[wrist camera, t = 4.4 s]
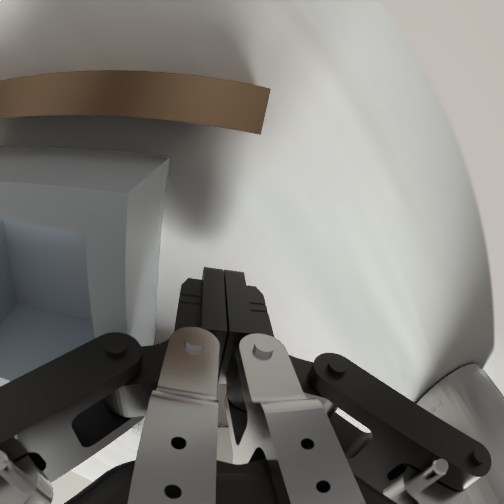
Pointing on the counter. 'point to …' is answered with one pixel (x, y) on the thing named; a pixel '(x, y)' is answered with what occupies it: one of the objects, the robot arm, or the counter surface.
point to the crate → (76, 250)
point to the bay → (137, 97)
